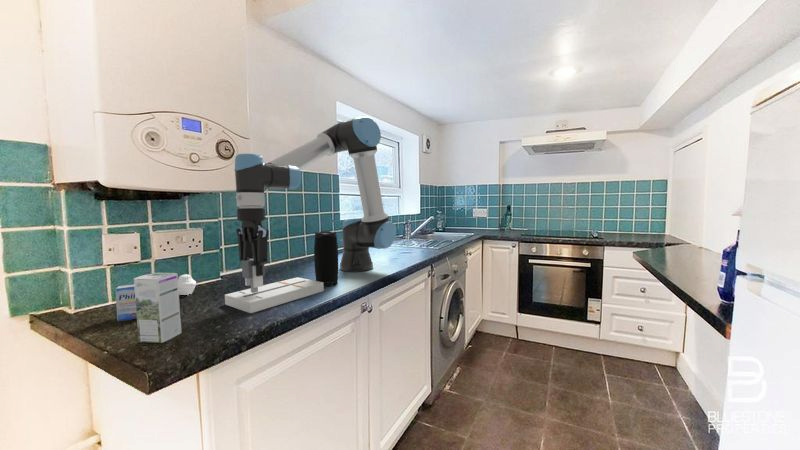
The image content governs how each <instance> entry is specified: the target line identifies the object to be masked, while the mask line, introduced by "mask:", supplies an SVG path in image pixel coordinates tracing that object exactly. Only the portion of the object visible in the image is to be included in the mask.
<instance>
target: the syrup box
mask: <svg viewBox="0 0 800 450" xmlns="http://www.w3.org/2000/svg"><path fill="white" fill-rule="evenodd" d="M178 278H179V276H178V273H177V272H152V273H146V274H144V275H139V276H137V277H134V278H133V284H134V289H135V301H136V314H137V319H136V322H137V334H138V335H137V338H138V339H137V340H138V343H149V344H154V343H155V344H163V343H165V342H167V341H170V340H172V339H174V338H175V337H176V336H179V335H180V334H181V335H182V321H181V308H180V295H179V290H178Z"/></svg>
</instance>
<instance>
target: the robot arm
mask: <svg viewBox="0 0 800 450" xmlns="http://www.w3.org/2000/svg"><path fill="white" fill-rule="evenodd" d="M381 139H382V134H381V130H380V127H379V125H378V124H377V122H376V121H375V120H374V119H373V118H372V117H369V116H358V117H354V118H351V119H347V120H344V121H340V122H338V123H336V124H334V125H332V126H330V127H329V128H327V129H325V130H323V131H322V132H320V133H318V134H317V136H316V138H314V139H312V140H310V141H308V142H306V143H304V144H302V145H300V146H298V147H296V148H294V149H292V150H290V151H288V152H287V153H283V155H280V156H278V157H276V158H274V159H271V160H270V161H269V162H265V161H264V157H263V156H262V155H261V154H256V153H239V154H237V155H236V156H235V158H234V170H233V171H234V176H235V192H236V196H235V200H236V206H237V207H238V208H237V209H236V220H237V221H238V222H241V226H240V228H236V230H235V231H236V235H237V247H238V257H239V261H240V262H242V260H248V259H253V260H254V264H252V272H253V288H256V287H260V286H263V285H264V276H263V264H264V265H265V264H267V263H268V236H269V229H264V228H263V224H262V222H263V221H265V220H266V209H265V208H264V207H265V205H266V202H265V201H266V199H265V198H266V197H265V196H266V195H265V190H267V191H268V190H277V189H280V190H281V189H282V190H283V189H285V190H292V189H295V190H296V189H297V188H299V187H300V186H301V182H302V172H301V171H302V170H303V169H304V168H307V167H308V166H310V165H311V164H313V163H315V162H317V161H319V160H320V159H323V158H324V157H326V156H327V157H329V156H330V157H331V156H333V155H334V154H337V153H341V152H346V151H348V153H347V154H348V155H349V157H351V158H352V159H353V164H354V169H355V174H356V179H357V184H358V190H359V197H360V201H361V207H362V211H363V216H362V217H354V218H346V219H344V221H343V222H342V228H341V229H342V246H343V247H342V248H343V251H342V255H341V259H340V263H339V269H340V271H343V272H344V271H345V272H366V271H369V270H372V269H373V268H374V266H373V265H374V262H373V261H372V257H371V254H370V249H371V248H372V249H377V250H378V249H379V250H380V249H382V250H383V249H389V248H390V247H392V245H393V244H394V242H395V240H396V237H397V227H396V224H394V222H393V221H390V219H389V214H388V213H386V212H385V210H384V206H383V204H384V203H383V200H382V199H383V198H382V193H381V187H380V182H379V176H378V169H377V163H376V159H375V158H376V157H375V155H376V153H377V151H378V145H379V144H380V142H381V141H380V140H381ZM300 170H301V171H300ZM369 248H370V249H369ZM244 283H245V286H251V281H250V279H248V278H244Z"/></svg>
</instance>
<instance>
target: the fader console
mask: <svg viewBox="0 0 800 450" xmlns="http://www.w3.org/2000/svg"><path fill="white" fill-rule="evenodd" d="M324 291H325V287H324V286H323V282H319V281H316V280H313V279H307V278H303V277H298V276H297V277H293V278H289V279H285V280H281V281H280V280H279V281H276V282H273V283H272V282H271V283H268V284H263V286H260V287H258V292H255V293H252V292H251V287H250V288H246V289H242V290H239V291H234V292H230V293H226V294H224V304H225V306H229V307H232V308H234V309H236V310H240V311H243V312H246V313H249V314H253V313H257V312H260V311H264V310H266V309H271V308H274V307H276V306H279V305H282V304H283V305H284V304H286V303H289V302H292V301H295V300H299V299H302V298H305V297H308V296H309V297H310V296H312V295H315V294H318V293H321V292H324Z"/></svg>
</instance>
